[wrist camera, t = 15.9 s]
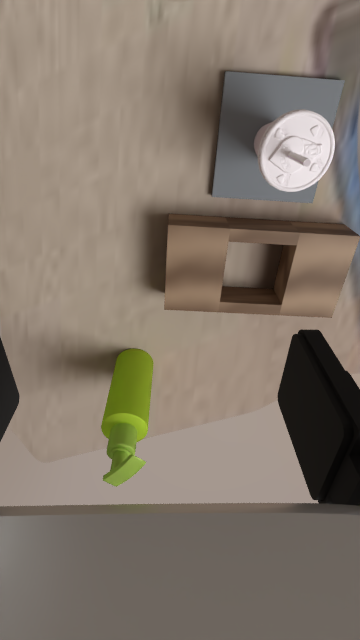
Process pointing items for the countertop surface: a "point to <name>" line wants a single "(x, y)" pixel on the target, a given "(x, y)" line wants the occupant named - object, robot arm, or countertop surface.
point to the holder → (292, 276)
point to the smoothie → (294, 150)
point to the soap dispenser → (127, 413)
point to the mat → (253, 113)
